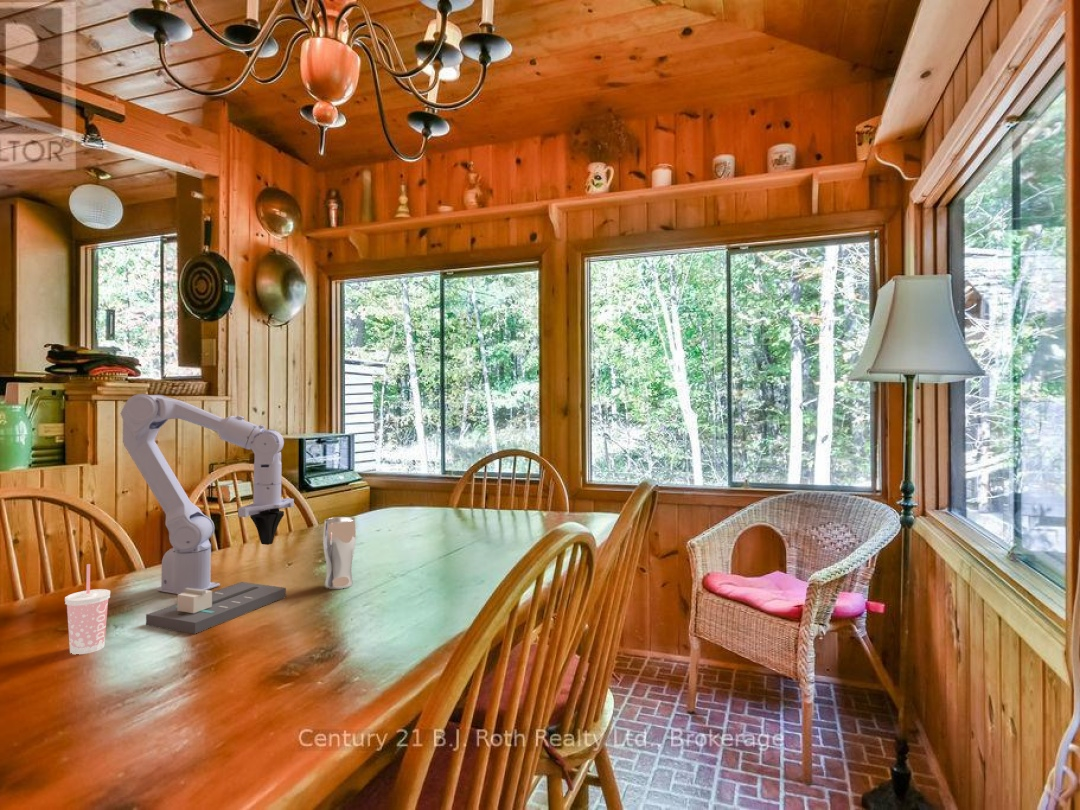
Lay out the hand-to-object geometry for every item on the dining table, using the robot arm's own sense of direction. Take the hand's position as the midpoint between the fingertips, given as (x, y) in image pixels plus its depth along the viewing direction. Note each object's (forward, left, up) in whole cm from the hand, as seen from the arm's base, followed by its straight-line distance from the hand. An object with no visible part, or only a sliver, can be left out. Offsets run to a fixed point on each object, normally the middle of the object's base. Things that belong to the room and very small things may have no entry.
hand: (266, 543), depth 135 cm
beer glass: (+15, +6, -10) cm, 19 cm away
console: (+4, -16, -9) cm, 19 cm away
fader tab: (+4, -22, -7) cm, 23 cm away
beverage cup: (-1, -38, -10) cm, 39 cm away
